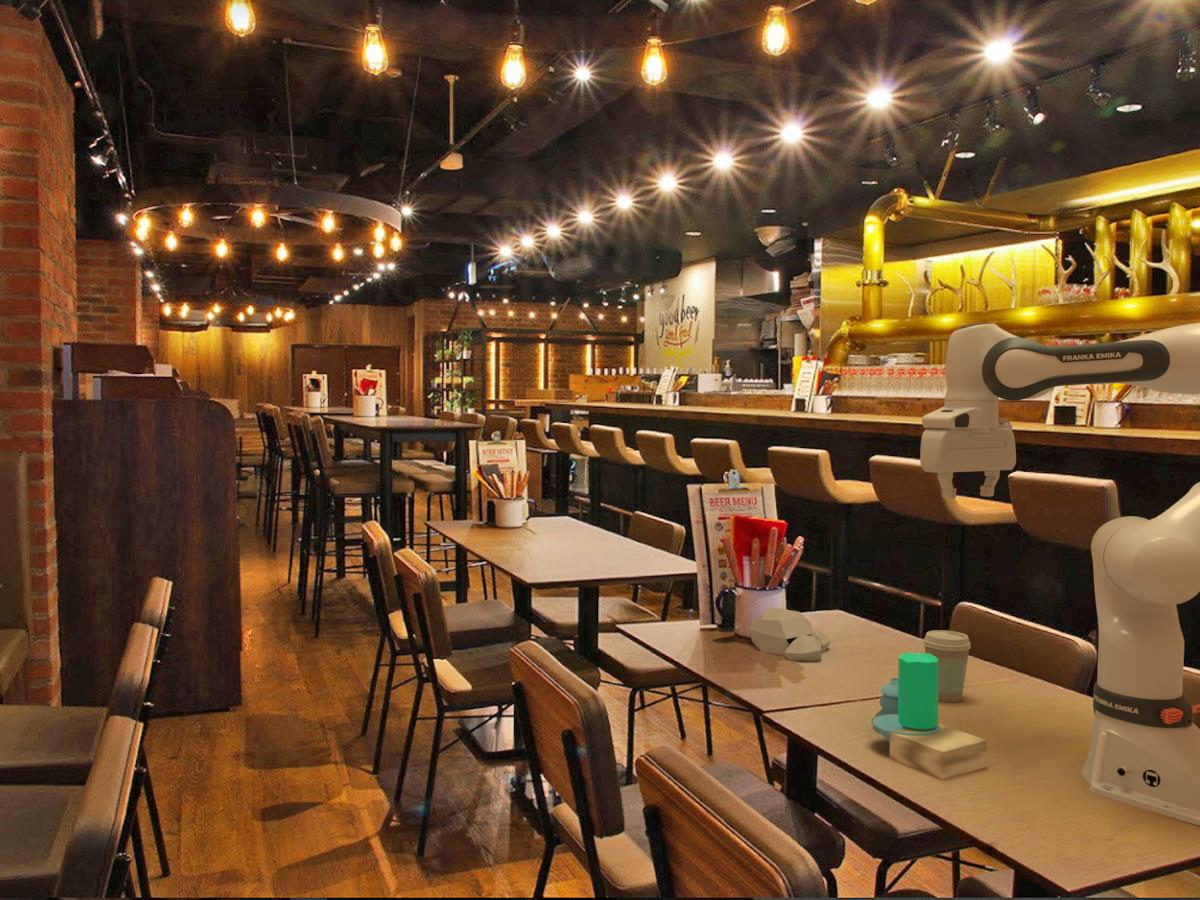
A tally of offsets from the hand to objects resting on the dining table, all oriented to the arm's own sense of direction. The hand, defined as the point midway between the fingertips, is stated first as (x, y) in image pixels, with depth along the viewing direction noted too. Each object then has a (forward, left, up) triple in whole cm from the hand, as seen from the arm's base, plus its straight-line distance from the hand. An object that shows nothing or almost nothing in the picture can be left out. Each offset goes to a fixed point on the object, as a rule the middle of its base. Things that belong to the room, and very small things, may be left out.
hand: (968, 497), depth 173 cm
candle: (-9, +20, -34) cm, 41 cm away
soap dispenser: (-5, +19, -39) cm, 44 cm away
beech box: (-14, +21, -40) cm, 47 cm away
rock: (+49, -2, -40) cm, 63 cm away
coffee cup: (+10, -7, -39) cm, 41 cm away
